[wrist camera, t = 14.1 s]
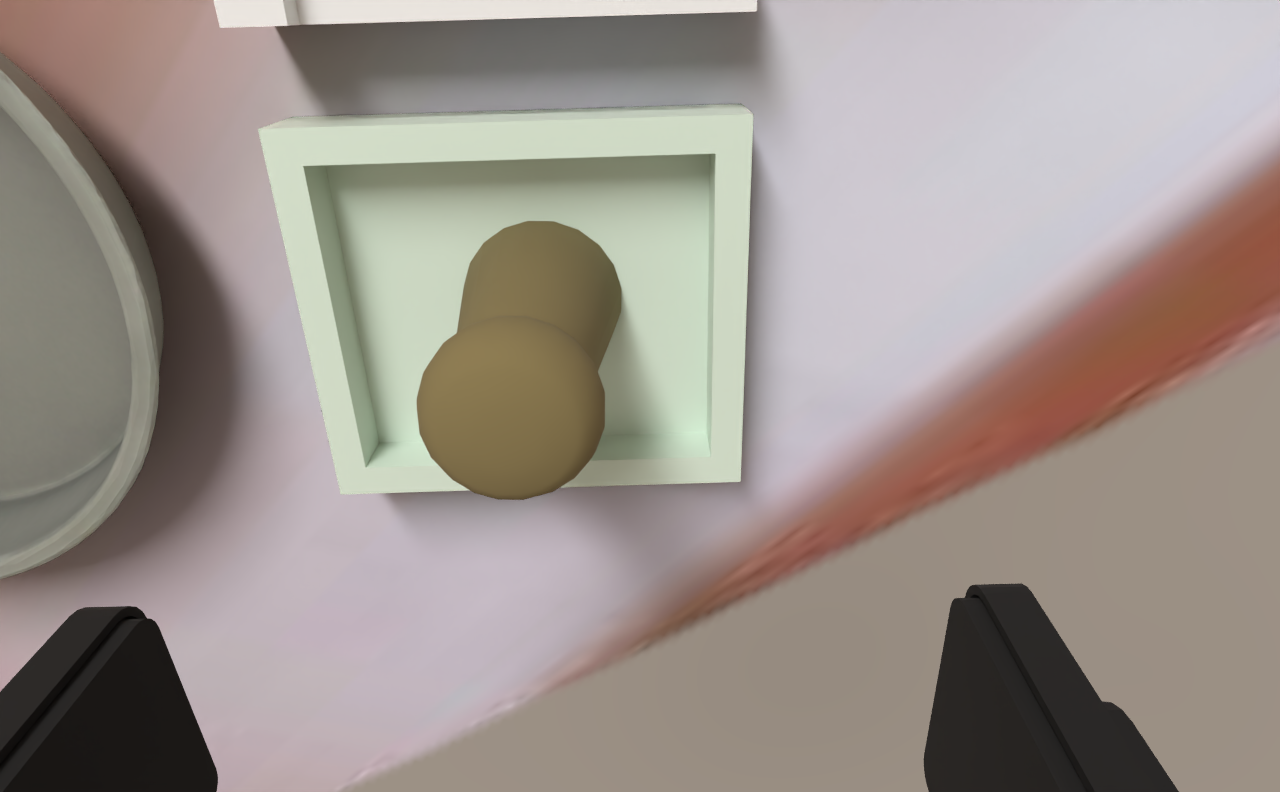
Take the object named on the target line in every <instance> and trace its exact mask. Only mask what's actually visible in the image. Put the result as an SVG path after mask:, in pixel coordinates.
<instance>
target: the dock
mask: <svg viewBox="0 0 1280 792" xmlns="http://www.w3.org/2000/svg"><path fill="white" fill-rule="evenodd" d="M214 4H215V8H216V13H217V17H218V21H219V25H220V28H228V27H262V26H291V25H311V24H346V23H380V22H414V21H448V20H482V19H516V18H551V17H585V16H619V15H653V14H687V13H722V12H756V11H757V0H214Z"/></svg>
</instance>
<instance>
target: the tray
mask: <svg viewBox="0 0 1280 792" xmlns="http://www.w3.org/2000/svg"><path fill="white" fill-rule="evenodd" d="M258 131H259V136H260V140H261V145H262V149H263V153H264V158H265V162H266V167H267V171H268V175H269V180H270V184H271V189H272V193H273V197H274V202H275V206H276V211H277V215H278V220H279V224H280V228H281V233H282V237H283V242H284V246H285V250H286V255H287V259H288V264H289V268H290V272H291V277H292V281H293V286H294V290H295V295H296V299H297V303H298V308H299V312H300V317H301V321H302V325H303V330H304V334H305V339H306V343H307V347H308V352H309V356H310V361H311V365H312V370H313V374H314V378H315V383H316V387H317V392H318V396H319V400H320V405H321V409H322V414H323V418H324V422H325V427H326V431H327V436H328V440H329V445H330V449H331V453H332V458H333V462H334V467H335V471H336V475H337V480H338V484H339V489H340V493H341V494H371V493H403V492H434V491H466V490H469V489H467V488H465V487H464V486H462V485H460V484H459V483H457V482H455V481H453V480H452V479H451V478H450V477H449V476H448V475H447V474H446V473H445V472H444V471H443V470H442V469H441V468H440V466H439V465H438V464H437V463H436V462H435V461H434V460H433V459H432V458H431V457H430V454H429V452H428V450H427V448H426V446H425V444H424V442H423V440H422V438H421V436H420V433H419V424H418V415H417V395H418V391H419V387H420V383H421V379H422V375H423V372H424V371H425V369H426V367H427V366H428V364H429V362H430V361H431V360H432V358H433V357H434V355H435V354H436V353H437V351H438V350H439V348H440V347H441V345H442V344H443V343H444V342H445V341H446V340H448V339H449V338H451V337H452V336H454V335H455V334H456V333H457V328H458V321H459V315H460V308H461V301H462V295H463V288H464V283H465V279H466V276H467V272H468V268H469V264H470V262H471V260H472V259H473V257H474V256H475V254H476V253H477V252H478V250H479V249H480V247H481V246H482V244H483V243H484V242H485V241H487V240H488V239H489V238H491V237H492V236H494V235H495V234H496V233H498V232H499V231H500V230H502V229H503V228H506V227H509V226H513V225H516V224H519V223H522V222H526V221H554V222H557V223H560V224H563V225H566V226H569V227H572V228H575V229H578V230H580V231H581V232H582V233H584V234H585V235H586V236H588V237H589V238H591V239H592V240H593V241H595V242H596V243H597V244H599V245H600V247H601V248H602V249H603V251H604V252H605V253H606V255H607V256H608V258H609V259H610V260H611V262H612V263H613V264H614V267H615V270H616V273H617V276H618V279H619V282H620V285H621V313H620V316H619V319H618V322H617V324H616V327H615V330H614V333H613V335H612V338H611V340H610V343H609V345H608V348H607V350H606V352H605V355H604V357H603V360H602V362H601V365H600V367H599V370H598V374H599V376H600V379H601V382H602V385H603V388H604V390H605V428H604V431H603V433H602V436H601V439H600V441H599V444H598V447H597V449H596V452H595V453H594V455H593V457H592V458H591V460H590V461H589V462H588V463H587V464H586V466H585V467H584V468H583V469H582V470H581V471H580V473H579V474H578V475H577V476H576V477H575V478H574V479H573V480H571V481H569V482H568V483H566V484H565V485H563V486H561V487H592V486H624V485H655V484H687V483H719V482H741V456H742V427H743V398H744V369H745V340H746V311H747V282H748V253H749V224H750V194H751V165H752V136H753V114H752V113H751V112H750V111H749V110H748V109H747V108H746V107H744V106H743V105H742V104H711V105H677V106H643V107H610V108H576V109H542V110H509V111H475V112H442V113H408V114H374V115H341V116H307V117H291V118H288V119H285V120H282V121H279V122H277V123H274V124H271V125H268V126H265V127H262V128H259V129H258ZM561 487H560V488H561Z"/></svg>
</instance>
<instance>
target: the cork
mask: <svg viewBox="0 0 1280 792" xmlns="http://www.w3.org/2000/svg"><path fill="white" fill-rule="evenodd" d="M620 313H621V285H620V282H619V279H618V276H617V273H616V270H615V267H614V264H613V263H612V262H611V260H610V259H609V258H608V256H607V255H606V253H605V252H604V251H603V249H602V248H601V247H600V245H599V244H597V243H596V242H595V241H593V240H592V239H591V238H589V237H588V236H586V235H585V234H584V233H582V232H581V231H580V230H578V229H575V228H572V227H569V226H566V225H563V224H560V223H557V222H554V221H526V222H522V223H519V224H516V225H513V226H509V227H506V228H503V229H502V230H500V231H499V232H498V233H496V234H495V235H494V236H492V237H491V238H489V239H488V240H487V241H485V242H484V243H483V244H482V246H481V247H480V249H479V250H478V252H477V253H476V254H475V256H474V257H473V259H472V260H471V262H470V264H469V268H468V272H467V276H466V279H465V283H464V288H463V295H462V301H461V308H460V315H459V321H458V328H457V333H456V334H455V335H454V336H452V337H451V338H449V339H448V340H446V341H445V342H444V343H443V344H442V345H441V347H440V348H439V350H438V351H437V353H436V354H435V355H434V357H433V358H432V360H431V361H430V362H429V364H428V366H427V367H426V369H425V371H424V372H423V375H422V379H421V383H420V387H419V391H418V395H417V415H418V424H419V433H420V436H421V438H422V440H423V442H424V444H425V446H426V448H427V450H428V452H429V454H430V457H431V458H432V459H433V460H434V461H435V462H436V463H437V464H438V465H439V466H440V468H441V469H442V470H443V471H444V472H445V473H446V474H447V475H448V476H449V477H450V478H451V479H452V480H453V481H455V482H457V483H459V484H460V485H462V486H464V487H465V488H467V489H469V490H470V491H472V492H474V493H477V494H481V495H484V496H488V497H491V498H495V499H510V500H524V499H527V498H531V497H535V496H539V495H542V494H546V493H550V492H553V491H555V490H556V489H558V488H560V487H561V486H563V485H565V484H566V483H568V482H569V481H571V480H573V479H574V478H575V477H576V476H577V475H578V474H579V473H580V471H581V470H582V469H583V468H584V467H585V466H586V464H587V463H588V462H589V461H590V460H591V458H592V457H593V455H594V453H595V452H596V449H597V447H598V444H599V441H600V439H601V436H602V433H603V431H604V428H605V390H604V388H603V385H602V382H601V379H600V376H599V374H598V370H599V367H600V365H601V362H602V360H603V357H604V355H605V352H606V350H607V348H608V345H609V343H610V340H611V338H612V335H613V333H614V330H615V327H616V324H617V322H618V319H619V316H620Z"/></svg>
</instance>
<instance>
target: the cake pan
mask: <svg viewBox="0 0 1280 792" xmlns="http://www.w3.org/2000/svg"><path fill="white" fill-rule="evenodd" d="M163 334H164V329H163V312H162V303H161V296H160V290H159V285H158V280H157V275H156V271H155V268H154V264H153V261H152V257H151V254H150V251H149V249H148V246H147V243H146V240H145V237H144V234H143V232H142V230H141V227H140V225H139V223H138V221H137V219H136V216H135V214H134V212H133V210H132V208H131V206H130V204H129V202H128V200H127V198H126V197H125V195H124V193H123V191H122V189H121V188H120V186H119V184H118V182H117V181H116V179H115V177H114V176H113V174H112V173H111V171H110V169H109V168H108V166H107V165H106V163H105V162H104V161H103V159H102V158H101V156H100V155H99V154H98V152H97V151H96V149H95V148H94V147H93V145H92V144H91V142H90V141H89V140H88V139H87V137H86V136H85V135H84V134H83V133H82V131H81V130H80V129H79V128H78V126H77V125H76V124H75V123H74V122H73V121H72V120H71V118H70V117H69V116H68V115H67V114H66V113H65V112H64V110H63V109H62V108H61V107H60V106H59V105H58V104H57V103H56V102H55V101H54V100H53V99H52V98H51V97H50V96H49V95H48V94H47V93H46V92H45V91H44V90H43V89H42V88H41V87H40V86H39V85H38V84H37V83H36V82H35V81H33V80H32V79H31V78H30V77H29V76H28V75H27V74H26V73H25V72H23V71H22V70H21V69H20V68H19V67H17V66H16V65H15V64H14V63H13V62H12V61H10V60H9V59H8V58H7V57H6V56H4V55H3V54H2V53H1V52H0V579H3V578H6V577H10V576H13V575H16V574H19V573H22V572H25V571H28V570H30V569H33V568H35V567H38V566H40V565H43V564H45V563H47V562H49V561H51V560H53V559H55V558H57V557H59V556H60V555H61V554H63V553H65V552H67V551H69V550H70V549H71V548H73V547H75V546H77V545H78V544H79V543H80V542H82V541H83V540H84V539H85V538H87V537H88V536H89V535H90V534H92V533H93V532H94V531H95V530H97V529H98V528H99V526H100V525H101V524H102V523H103V522H104V521H105V520H106V519H107V518H108V517H109V516H110V515H111V514H112V513H113V512H114V511H115V510H116V509H117V507H118V506H119V504H120V503H121V502H122V500H123V499H124V497H125V496H126V494H127V493H128V491H129V490H130V489H131V487H132V486H133V484H134V482H135V480H136V478H137V476H138V474H139V472H140V471H141V469H142V466H143V464H144V460H145V457H146V455H147V453H148V450H149V447H150V442H151V438H152V434H153V430H154V427H155V421H156V414H157V408H158V395H159V369H160V364H161V357H162V349H163Z"/></svg>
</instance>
